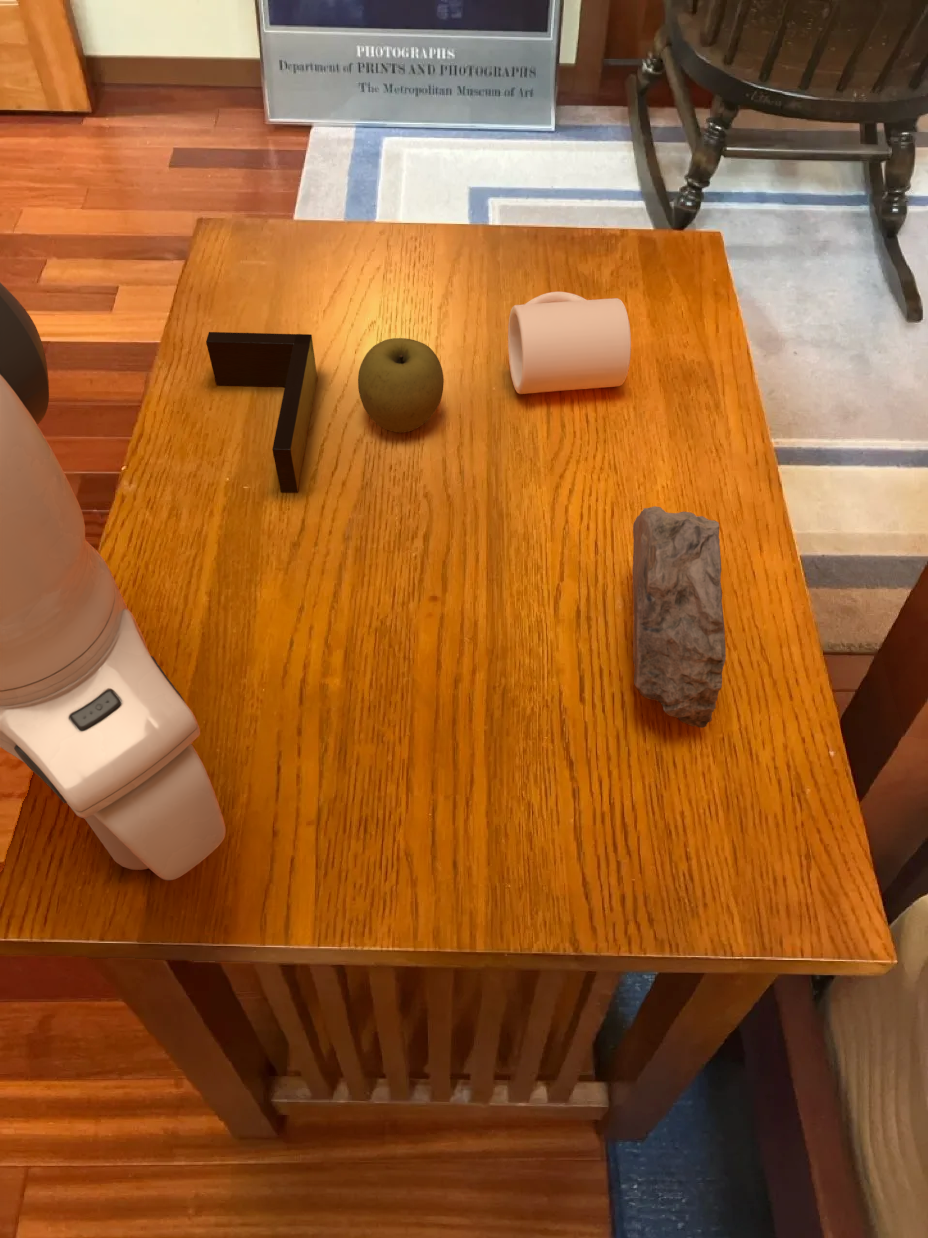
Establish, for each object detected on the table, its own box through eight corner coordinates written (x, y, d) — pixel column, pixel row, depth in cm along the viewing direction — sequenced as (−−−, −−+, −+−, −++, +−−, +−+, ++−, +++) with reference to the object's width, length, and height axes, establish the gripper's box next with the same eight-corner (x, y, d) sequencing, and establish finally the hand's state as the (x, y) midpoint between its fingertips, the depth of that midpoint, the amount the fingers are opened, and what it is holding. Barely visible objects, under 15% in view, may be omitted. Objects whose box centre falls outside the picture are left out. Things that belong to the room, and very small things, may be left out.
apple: (455, 402, 88) (456, 338, 82) (422, 456, 84) (421, 393, 78) (382, 382, 90) (378, 318, 84) (346, 434, 85) (339, 370, 79)
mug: (622, 403, 88) (636, 332, 82) (519, 411, 88) (525, 340, 81) (594, 327, 96) (605, 256, 89) (498, 333, 95) (503, 262, 88)
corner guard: (188, 490, 80) (174, 446, 76) (219, 375, 90) (208, 331, 86) (297, 492, 81) (290, 449, 77) (317, 377, 90) (311, 334, 86)
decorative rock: (705, 750, 66) (763, 624, 54) (611, 739, 66) (648, 611, 54) (699, 575, 76) (747, 435, 64) (617, 566, 76) (649, 425, 64)
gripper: (-122, 563, 47) (-12, 707, 58) (91, 833, 38) (173, 942, 49) (-7, 500, 50) (78, 649, 61) (218, 739, 41) (269, 863, 52)
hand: (122, 782), depth 55 cm, fingers open, 8 cm apart
